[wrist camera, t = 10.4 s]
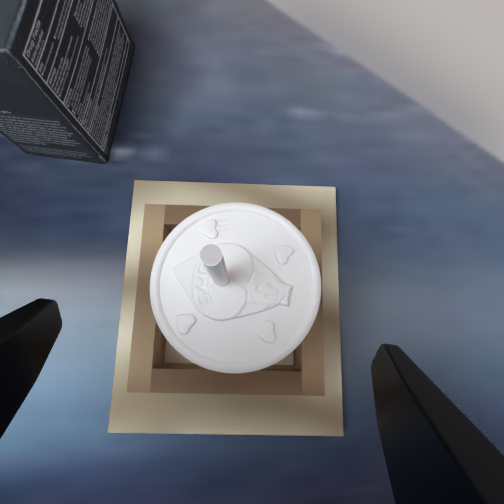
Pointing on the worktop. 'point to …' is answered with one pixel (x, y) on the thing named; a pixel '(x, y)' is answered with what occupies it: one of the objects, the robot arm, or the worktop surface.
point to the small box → (62, 76)
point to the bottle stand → (212, 382)
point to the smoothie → (235, 287)
